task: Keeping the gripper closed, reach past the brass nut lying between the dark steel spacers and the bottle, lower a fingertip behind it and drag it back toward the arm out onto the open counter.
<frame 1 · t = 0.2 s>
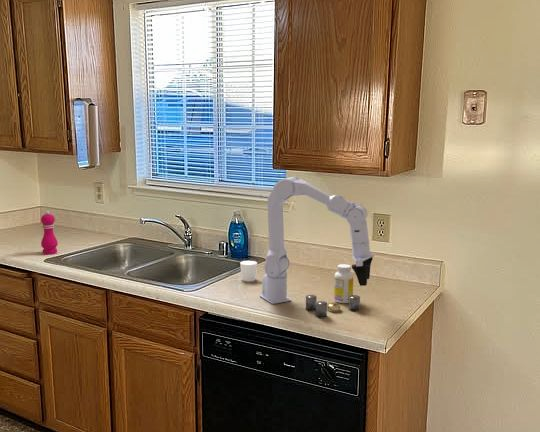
hand: (364, 282, 183), 10 cm above the worktop, tool pointing down, fingers open, 7 cm apart
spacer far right: (321, 316, 180), on the worktop
pepper mill: (50, 253, 257), on the worktop
spacer near: (310, 309, 187), on the worktop
supplement bottle: (343, 301, 196), on the worktop
white cylinder: (248, 279, 219), on the worktop
nut: (333, 310, 186), on the worktop
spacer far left: (354, 309, 187), on the worktop
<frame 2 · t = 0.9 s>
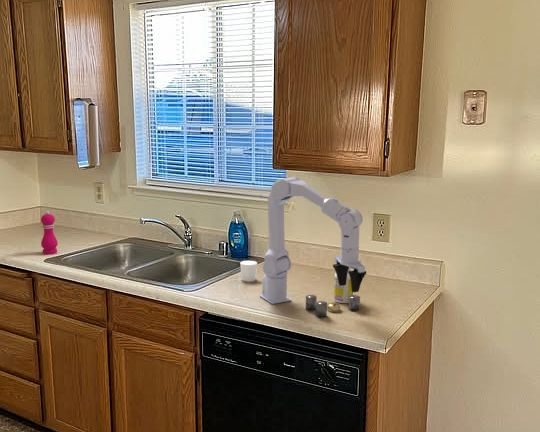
hand: (348, 288, 179), 9 cm above the worktop, tool pointing down, fingers open, 7 cm apart
nothing on the worktop moved.
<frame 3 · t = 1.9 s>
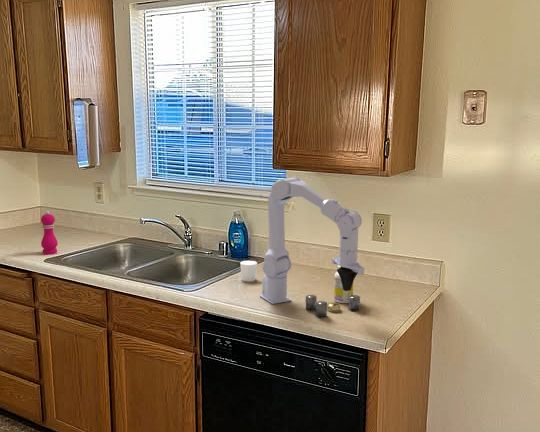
hand: (346, 290, 179), 9 cm above the worktop, tool pointing down, fingers closed
nothing on the worktop moved.
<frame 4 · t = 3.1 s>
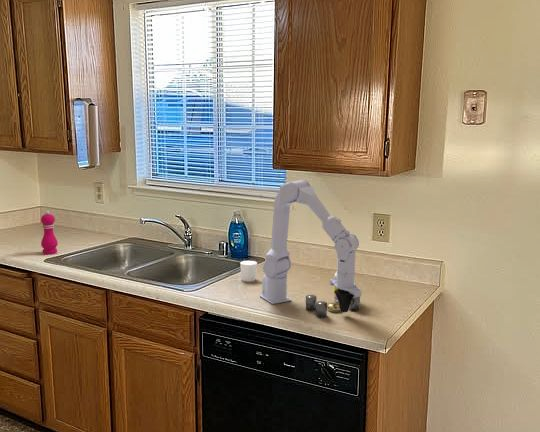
hand: (344, 311, 181), 1 cm above the worktop, tool pointing down, fingers closed
nothing on the worktop moved.
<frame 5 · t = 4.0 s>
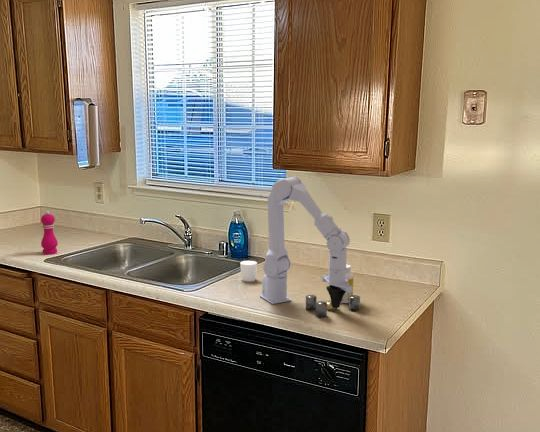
hand: (336, 307, 185), 1 cm above the worktop, tool pointing down, fingers closed
nut: (330, 308, 188), on the worktop, touching gripper
everything else where it was.
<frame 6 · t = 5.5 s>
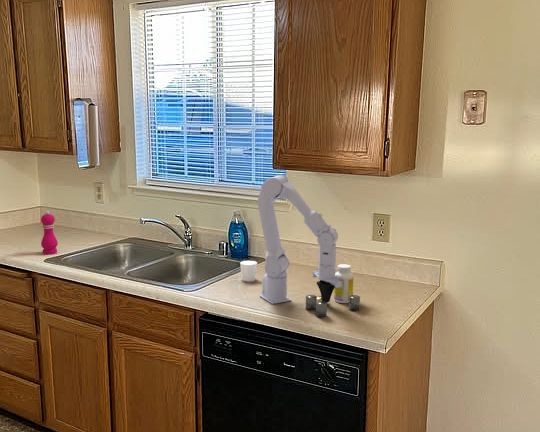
hand: (326, 301, 190), 1 cm above the worktop, tool pointing down, fingers closed
nut: (321, 303, 193), on the worktop, touching gripper
everything else where it was.
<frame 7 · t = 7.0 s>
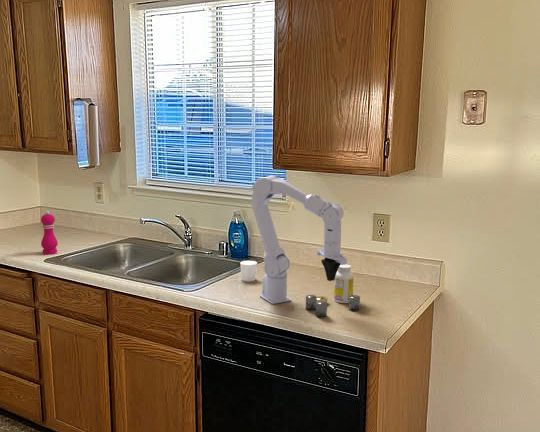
hand: (330, 280, 186), 10 cm above the worktop, tool pointing down, fingers closed
nut: (320, 303, 193), on the worktop
everything else where it was.
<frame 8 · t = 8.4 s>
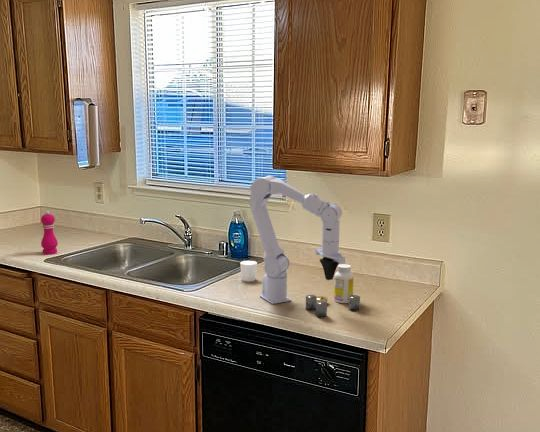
hand: (329, 279, 187), 10 cm above the worktop, tool pointing down, fingers closed
nothing on the worktop moved.
at the end: nut inside the target area (1.2 cm from its centre), on the worktop; nut moved 7.5 cm from its start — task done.
